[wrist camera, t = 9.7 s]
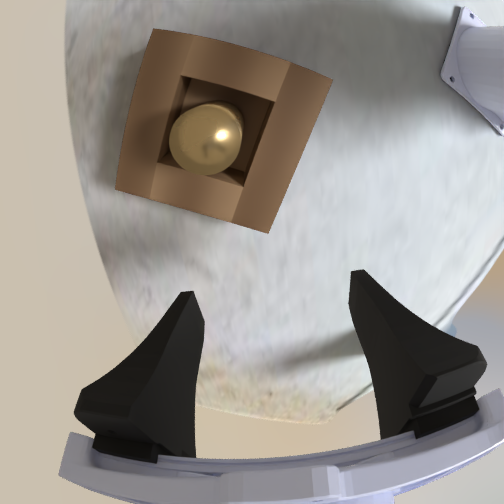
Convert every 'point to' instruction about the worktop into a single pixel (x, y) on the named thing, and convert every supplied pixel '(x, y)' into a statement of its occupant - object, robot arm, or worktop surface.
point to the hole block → (254, 133)
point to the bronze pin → (207, 137)
